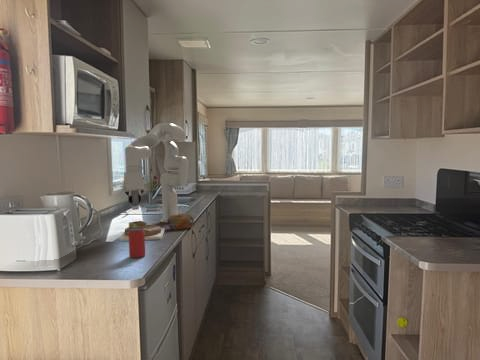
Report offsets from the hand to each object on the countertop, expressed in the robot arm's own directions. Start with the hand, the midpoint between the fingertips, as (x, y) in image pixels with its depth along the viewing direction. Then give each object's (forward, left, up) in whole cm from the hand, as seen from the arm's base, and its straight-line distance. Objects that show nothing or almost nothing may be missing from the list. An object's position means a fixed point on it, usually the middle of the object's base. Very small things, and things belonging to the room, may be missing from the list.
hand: (134, 202), depth 194 cm
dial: (+4, +5, -16) cm, 17 cm away
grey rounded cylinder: (+1, 0, -4) cm, 4 cm away
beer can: (+44, +9, -18) cm, 48 cm away
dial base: (+4, +5, -18) cm, 19 cm away
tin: (-11, +24, -18) cm, 32 cm away
